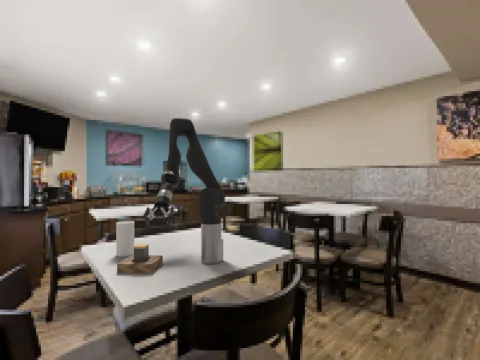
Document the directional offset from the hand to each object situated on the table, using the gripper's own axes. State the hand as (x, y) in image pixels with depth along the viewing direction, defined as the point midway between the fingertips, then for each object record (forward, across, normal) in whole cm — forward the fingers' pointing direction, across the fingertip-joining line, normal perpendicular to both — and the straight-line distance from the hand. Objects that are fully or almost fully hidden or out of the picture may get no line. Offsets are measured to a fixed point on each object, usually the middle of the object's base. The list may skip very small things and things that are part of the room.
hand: (155, 225), depth 118 cm
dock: (+21, -1, +2) cm, 21 cm away
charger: (+21, -1, +2) cm, 21 cm away
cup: (+6, -18, +15) cm, 25 cm away
